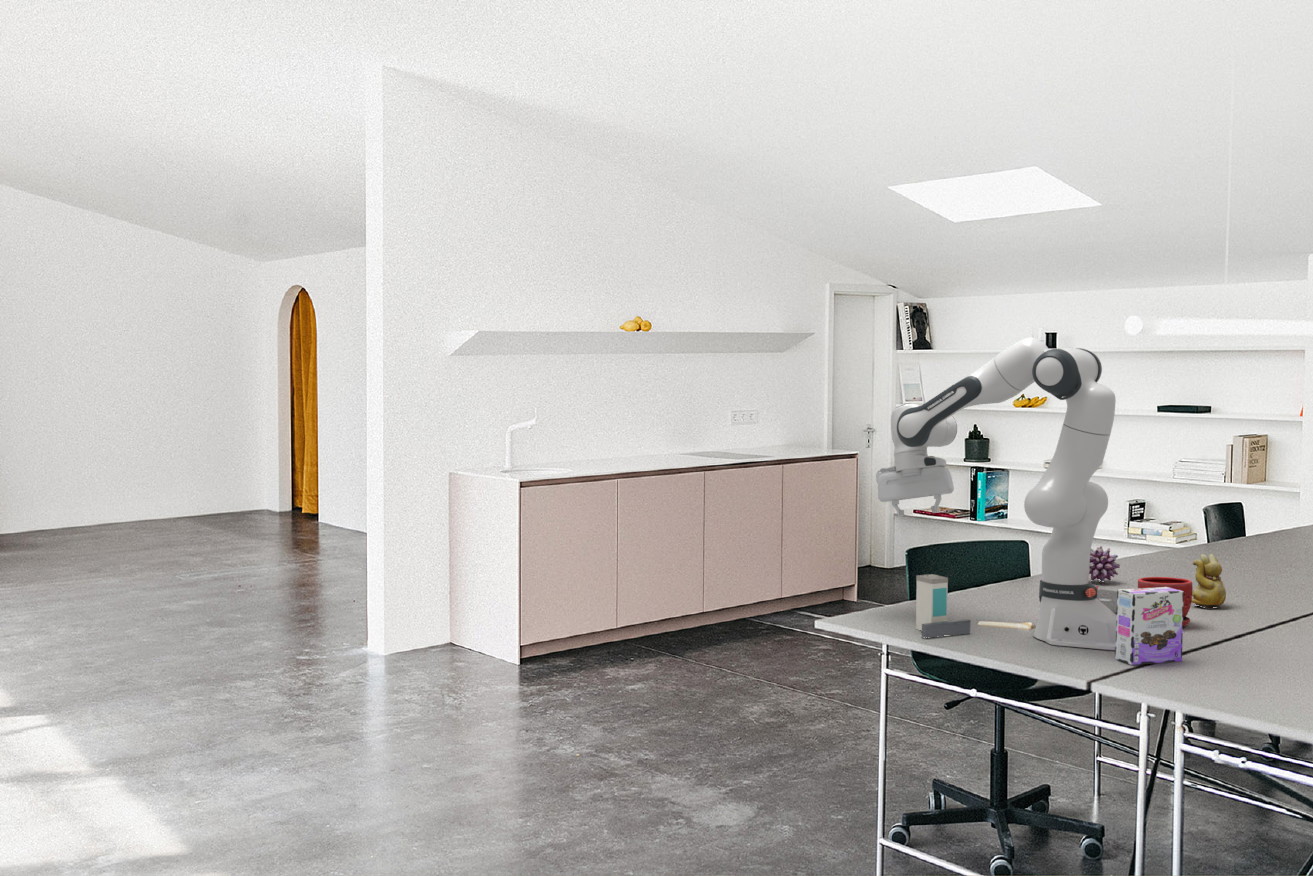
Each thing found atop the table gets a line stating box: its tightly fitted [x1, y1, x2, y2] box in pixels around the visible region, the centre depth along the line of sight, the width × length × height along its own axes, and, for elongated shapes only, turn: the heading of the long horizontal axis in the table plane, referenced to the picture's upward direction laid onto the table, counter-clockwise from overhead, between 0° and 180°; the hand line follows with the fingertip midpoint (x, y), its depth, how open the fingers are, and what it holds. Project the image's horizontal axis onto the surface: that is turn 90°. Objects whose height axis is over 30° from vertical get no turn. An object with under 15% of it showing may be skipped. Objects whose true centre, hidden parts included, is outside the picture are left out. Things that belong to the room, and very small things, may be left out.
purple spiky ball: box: [1089, 545, 1121, 582], centre depth 359 cm, size 12×12×12 cm
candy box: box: [1114, 587, 1184, 666], centre depth 259 cm, size 14×6×16 cm, turn 105°
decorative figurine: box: [1191, 553, 1227, 608], centre depth 321 cm, size 10×8×15 cm
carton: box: [915, 573, 949, 630], centre depth 289 cm, size 5×6×14 cm
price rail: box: [921, 618, 971, 638], centre depth 285 cm, size 2×14×4 cm, turn 115°
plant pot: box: [1137, 576, 1194, 627], centre depth 298 cm, size 13×13×12 cm
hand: (918, 514), depth 307 cm, fingers open, 8 cm apart
